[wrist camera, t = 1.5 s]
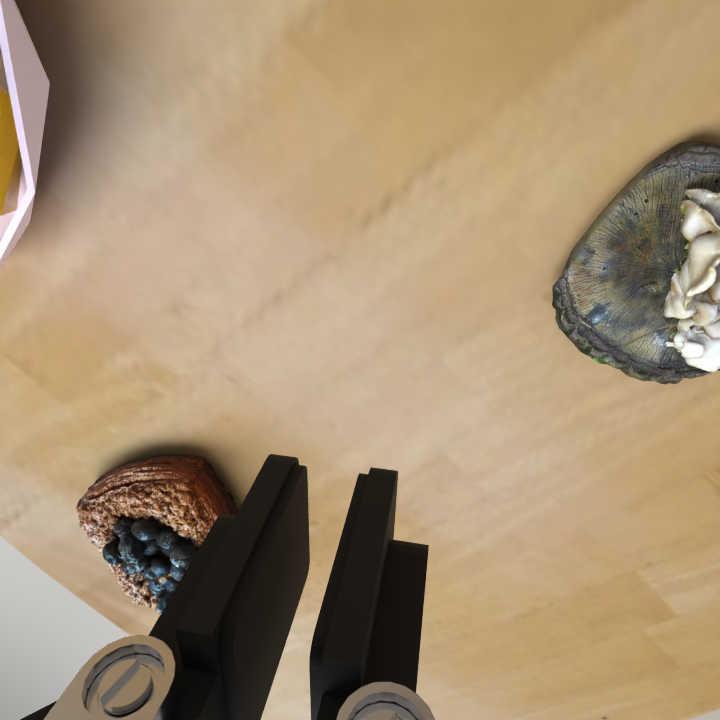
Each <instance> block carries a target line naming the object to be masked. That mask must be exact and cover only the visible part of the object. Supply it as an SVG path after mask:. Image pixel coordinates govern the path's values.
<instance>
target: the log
mask: <svg viewBox="0 0 720 720" xmlns="http://www.w3.org/2000/svg"><path fill="white" fill-rule="evenodd" d="M552 306H553V308H555V310H556V317H555V319H556V322H557V324H558V326H559V328H560V329H561V330H562V331H563V332H564V333H565V335H566V336H567V337H568V338H569V339H570V340H571V341H572V342H573V344H574V345H575V346H576V347H577V348H578V349H579V350H580V351H581V352H582V353H584V354H586V355H587V356H589V357H591V358H592V359H593V360H595V361H596V362H598V363H601V364H608V365H610V366H612V367H614V368H617V369H620V370H621V371H622V372H623V373H625V374H626V375H628V376H629V377H634V378H636V379H639V380H642V381H656V382H659V383H661V384H667V383H672V384H676V383H679V382H680V381H681V380H682V379H683V378H695V377H700V376H704V375H707V374H710V373H711V372H714V371H717V370H718V371H720V147H718V146H716V145H712V144H707V143H703V142H688V143H680V144H678V145H676V146H674V147H673V148H671V149H670V150H668V151H667V152H665V153H663V154H662V155H660V156H659V157H658V158H656V159H655V160H653V161H652V162H651V163H649V164H648V165H646V166H645V167H644V168H643V169H642V170H641V171H640V172H639V173H638V174H637V175H636V176H635V177H634V178H633V179H632V180H631V181H630V182H629V183H628V184H627V185H626V186H625V187H624V188H623V189H622V190H621V191H620V192H619V193H618V195H617V196H616V197H615V198H614V199H613V200H612V201H611V202H610V203H609V204H608V205H607V207H606V208H605V209H604V210H603V211H602V213H601V214H600V215H599V217H598V218H597V219H596V220H595V222H594V223H593V224H592V225H591V227H590V228H589V229H588V231H587V232H586V233H585V234H584V236H583V237H582V238H581V239H580V241H579V242H578V243H577V245H576V246H575V247H574V248H573V250H572V251H571V253H570V255H569V258H568V260H567V263H566V265H565V267H564V270H563V272H562V275H561V277H560V278H559V279H558V281H557V282H556V283H555V284H554V285H553V302H552Z"/></svg>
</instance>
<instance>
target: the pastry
mask: <svg viewBox="0 0 720 720" xmlns="http://www.w3.org/2000/svg"><path fill="white" fill-rule="evenodd" d="M76 509H77V514H78V517H79V519H80V520H81V521H80V528H81V529H83V531H84V532H87V535H88V538H90V539H91V541H92V542H91V544H92V545H96V547H97V548H98V550H99V551H100V554H102V555H103V558H104V559H105V560H106V562H107V563H108V564H109V565H110V568H111V571H112V572H115V576H116V578H117V581H118V582H119V583H120V584H121V585H122V586H123V588H122V590H123V591H124V593H125V594H127V595H128V597H129V598H131V601H132V603H133V604H134V605H135V606H138V605H143V604H144V605H145V606H147V607H149V608H150V607H152V608H153V609H155V610H156V612H157V613H159V615H161V613H162V611H163V610H164V608H165V606H166V605H167V603H168V601H169V599H170V598H171V596H172V594H173V592H174V591H175V589H176V587H177V586H178V584H179V582H180V580H181V579H182V577H183V575H184V573H185V572H186V570H187V568H188V567H189V565H190V563H191V561H192V560H193V558H194V556H195V555H196V553H197V551H198V549H199V548H200V546H201V544H202V542H203V541H204V539H205V537H206V536H207V534H208V532H209V530H210V529H211V527H212V525H213V523H214V522H215V521H216V519H217V518H218V517H219V516H220V515H221V514H227V515H233V516H236V515H237V511H236V509H235V507H234V503H233V497H232V496H231V494H229V493H228V492H227V491H226V490H225V488H224V486H223V484H222V482H221V481H220V479H219V477H218V476H217V475H216V474H215V472H214V470H213V468H212V467H211V465H210V464H209V463H208V462H207V461H206V458H203V457H192V456H186V455H170V456H166V455H164V456H154V457H150V458H144V459H140V460H137V461H133V462H130V463H127V464H124V465H122V466H120V467H118V468H116V469H114V470H112V471H110V472H107V473H106V474H104V475H103V476H102V477H100V478H99V479H97V480H96V482H95V483H94V484H93V485H92V486H90V487H89V488H88V491H87V492H86V493H85V495H84V496H83V497H82V498H81V499H80V500H79V502H78V505H77V507H76Z"/></svg>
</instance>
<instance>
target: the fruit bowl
mask: <svg viewBox="0 0 720 720" xmlns="http://www.w3.org/2000/svg"><path fill="white" fill-rule="evenodd" d="M49 87H50V82H49V80H48V78H47V75H46V73H45V71H44V68H43V66H42V64H41V61H40V59H39V57H38V54H37V52H36V49H35V47H34V45H33V42H32V40H31V38H30V35H29V33H28V31H27V28H26V26H25V24H24V21H23V19H22V17H21V14H20V12H19V9H18V7H17V5H16V2H15V0H0V269H1V267H2V266H3V264H4V262H5V261H6V259H7V258H8V256H9V255H10V253H11V251H12V250H13V248H14V247H15V245H16V243H17V242H18V240H19V239H20V237H21V235H22V234H23V232H24V231H25V229H26V227H27V226H28V224H29V223H30V220H31V214H32V208H33V202H34V196H35V190H36V183H37V175H38V168H39V160H40V153H41V146H42V138H43V131H44V124H45V116H46V109H47V101H48V94H49Z"/></svg>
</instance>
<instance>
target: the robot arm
mask: <svg viewBox="0 0 720 720" xmlns="http://www.w3.org/2000/svg"><path fill="white" fill-rule="evenodd" d="M397 481H398V471H394V470H386V469H379V468H370V471H369V474H361V473H359V475H358V478H357V482H356V486H355V489H354V493H353V496H352V500H351V503H350V507H349V510H348V514H347V517H346V521H345V525H344V528H343V532H342V535H341V539H340V542H339V546H338V549H337V553H336V557H335V560H334V564H333V567H332V571H331V574H330V578H329V581H328V585H327V589H326V592H325V596H324V599H323V603H322V606H321V610H320V613H319V617H318V620H317V624H316V628H315V631H314V635H313V640H312V645H311V652H310V695H311V720H435V719H434V716H433V714H432V712H431V710H430V708H429V707H428V705H427V704H426V703H425V702H424V701H423V700H422V699H421V697H420V696H419V695H418V694H416V685H417V673H418V662H419V650H420V639H421V628H422V616H423V605H424V593H425V582H426V570H427V559H428V546H429V545H424V544H417V543H411V542H404V541H397V540H393V537H394V523H395V509H396V495H397ZM309 563H310V554H309V518H308V481H307V467H306V466H301V465H299V461H298V458H296V457H289V456H281V455H274V454H270V455H269V456H268V457H267V459H266V461H265V463H264V464H263V466H262V468H261V470H260V472H259V474H258V476H257V477H256V479H255V481H254V483H253V485H252V487H251V489H250V491H249V492H248V494H247V496H246V498H245V500H244V502H243V504H242V505H241V507H240V509H239V511H238V513H237V515H236V516H233V515H227V514H221V515H220V516H219V517H218V518H217V519H216V521H215V522H214V523H213V525H212V527H211V529H210V530H209V532H208V534H207V536H206V537H205V539H204V541H203V542H202V544H201V546H200V548H199V549H198V551H197V553H196V555H195V556H194V558H193V560H192V561H191V563H190V565H189V567H188V568H187V570H186V572H185V573H184V575H183V577H182V579H181V580H180V582H179V584H178V586H177V587H176V589H175V591H174V592H173V594H172V596H171V598H170V599H169V601H168V603H167V605H166V606H165V608H164V610H163V611H162V613H161V615H160V617H159V618H158V620H157V622H156V624H155V625H154V627H153V629H152V630H151V632H150V634H149V636H144V635H135V636H130V637H124V638H122V639H119V640H117V641H115V642H112V643H110V644H108V645H106V646H105V647H104V648H102V649H101V650H100V651H98V652H97V653H95V654H94V655H93V656H92V657H91V658H90V659H89V660H88V662H87V663H86V664H85V665H84V666H83V667H82V668H81V670H80V671H79V672H78V674H77V675H76V676H75V678H74V679H73V680H72V682H71V683H70V684H69V686H68V687H67V688H66V690H65V691H64V692H63V694H62V695H61V697H60V698H59V699H58V700H57V701H55V702H54V703H52V704H50V705H48V706H46V707H44V708H42V709H40V710H38V711H36V712H34V713H32V714H30V715H28V716H26V717H25V718H22V719H21V720H261V717H262V713H263V710H264V707H265V704H266V701H267V698H268V695H269V692H270V689H271V686H272V683H273V680H274V677H275V674H276V671H277V668H278V665H279V662H280V658H281V655H282V652H283V649H284V646H285V643H286V640H287V637H288V634H289V631H290V628H291V625H292V622H293V619H294V616H295V613H296V610H297V607H298V603H299V600H300V597H301V594H302V591H303V588H304V585H305V582H306V579H307V575H308V570H309Z"/></svg>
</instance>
